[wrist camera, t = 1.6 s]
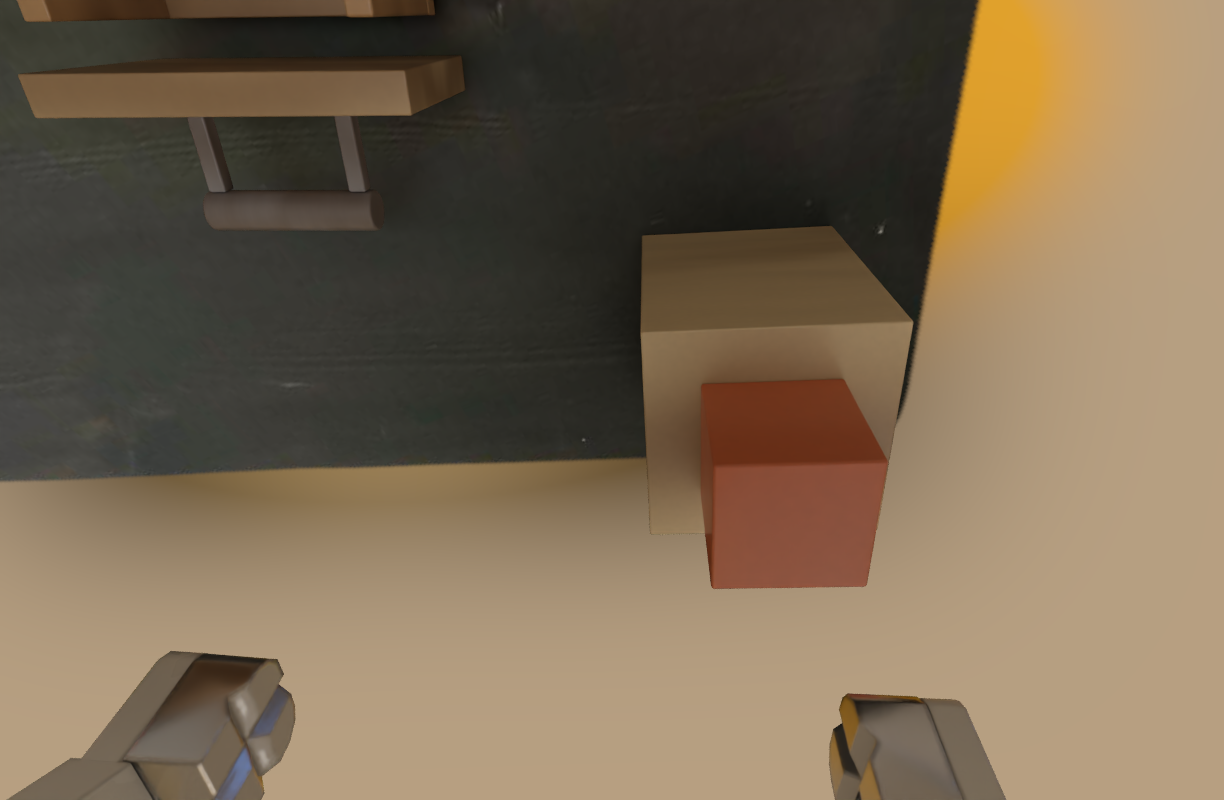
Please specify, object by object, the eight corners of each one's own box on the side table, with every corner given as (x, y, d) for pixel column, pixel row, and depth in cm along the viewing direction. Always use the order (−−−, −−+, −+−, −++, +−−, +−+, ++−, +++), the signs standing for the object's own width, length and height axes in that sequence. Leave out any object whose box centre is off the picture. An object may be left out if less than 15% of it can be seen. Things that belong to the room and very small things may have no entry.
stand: (642, 235, 29) (640, 332, 20) (832, 225, 28) (914, 321, 20) (648, 396, 33) (650, 535, 24) (815, 390, 32) (877, 530, 24)
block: (700, 383, 21) (713, 466, 17) (844, 377, 21) (889, 461, 17) (700, 494, 23) (711, 590, 19) (830, 491, 23) (867, 587, 19)
